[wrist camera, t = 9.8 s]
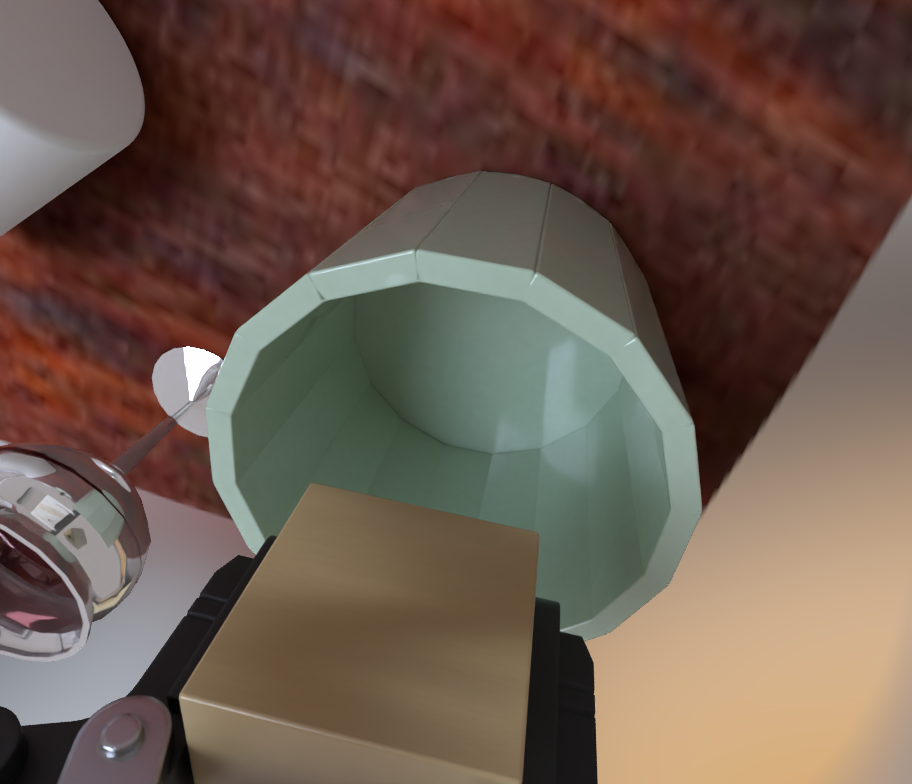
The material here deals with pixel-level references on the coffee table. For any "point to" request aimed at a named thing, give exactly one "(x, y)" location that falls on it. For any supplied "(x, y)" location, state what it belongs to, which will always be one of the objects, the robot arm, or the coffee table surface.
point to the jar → (474, 389)
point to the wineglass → (83, 521)
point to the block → (371, 652)
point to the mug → (60, 99)
